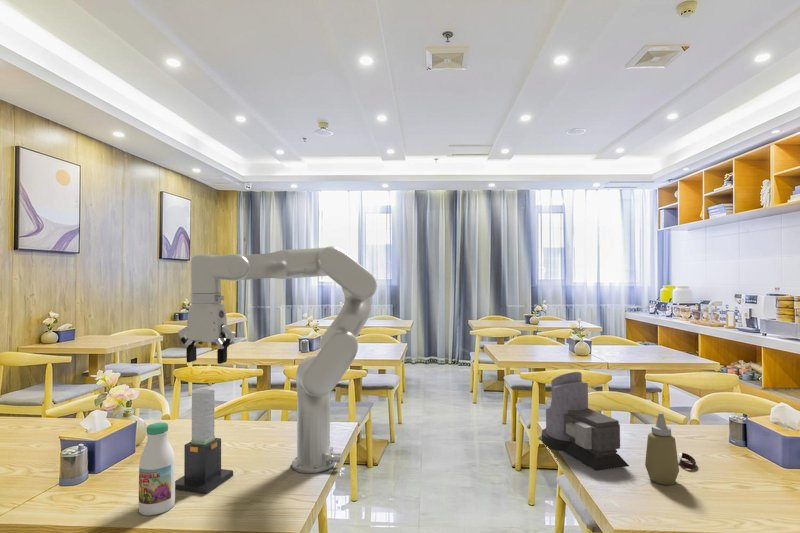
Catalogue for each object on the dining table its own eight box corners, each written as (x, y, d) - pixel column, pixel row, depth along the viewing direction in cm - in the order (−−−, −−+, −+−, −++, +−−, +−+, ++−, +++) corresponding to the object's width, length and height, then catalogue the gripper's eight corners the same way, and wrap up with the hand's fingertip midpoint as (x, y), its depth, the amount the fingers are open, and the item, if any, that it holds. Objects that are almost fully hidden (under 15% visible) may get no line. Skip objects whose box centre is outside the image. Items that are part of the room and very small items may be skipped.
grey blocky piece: (530, 436, 156) (529, 365, 157) (569, 431, 161) (568, 362, 161) (589, 472, 127) (588, 385, 128) (635, 465, 132) (634, 381, 132)
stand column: (214, 452, 124) (214, 389, 124) (204, 458, 120) (204, 393, 120) (201, 450, 125) (201, 388, 125) (191, 456, 121) (191, 392, 121)
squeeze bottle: (667, 490, 117) (666, 420, 117) (638, 477, 124) (637, 411, 124) (686, 483, 120) (685, 415, 121) (656, 471, 128) (655, 407, 128)
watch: (676, 459, 137) (676, 447, 137) (695, 462, 134) (695, 450, 134) (677, 468, 130) (677, 456, 130) (697, 472, 128) (696, 459, 128)
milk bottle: (147, 500, 113) (148, 420, 113) (180, 499, 113) (180, 419, 114) (132, 517, 105) (132, 430, 105) (166, 515, 105) (167, 429, 106)
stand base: (233, 475, 126) (233, 436, 126) (206, 494, 116) (206, 451, 116) (199, 471, 129) (199, 432, 129) (170, 489, 118) (171, 447, 119)
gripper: (242, 299, 126) (242, 360, 125) (189, 298, 130) (189, 358, 130) (225, 300, 118) (225, 366, 118) (169, 300, 123) (170, 363, 122)
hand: (206, 362), depth 124 cm, fingers open, 9 cm apart
